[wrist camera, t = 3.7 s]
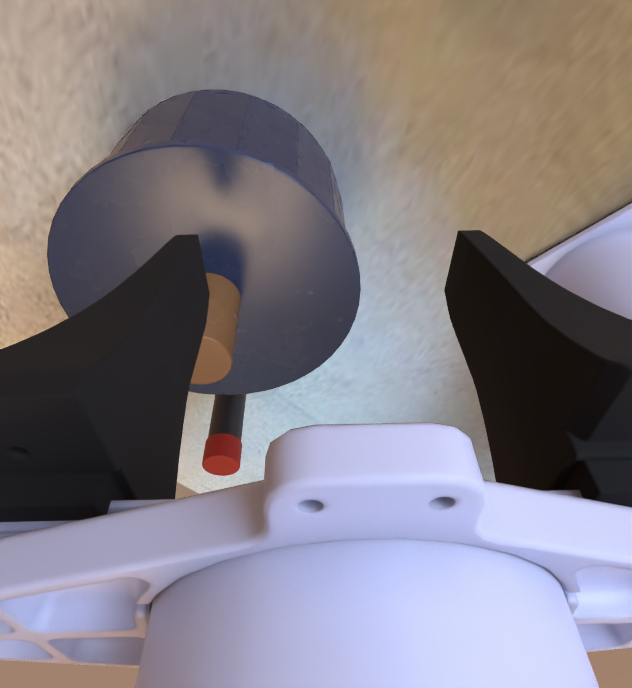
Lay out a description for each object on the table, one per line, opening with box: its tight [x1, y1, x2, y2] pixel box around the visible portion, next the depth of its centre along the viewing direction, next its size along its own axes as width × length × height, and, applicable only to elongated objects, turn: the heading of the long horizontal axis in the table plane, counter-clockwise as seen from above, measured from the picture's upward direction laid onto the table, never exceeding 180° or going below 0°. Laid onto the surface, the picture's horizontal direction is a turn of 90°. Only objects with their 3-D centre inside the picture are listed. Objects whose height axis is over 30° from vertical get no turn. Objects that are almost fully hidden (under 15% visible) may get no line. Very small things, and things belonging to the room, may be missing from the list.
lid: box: [47, 140, 361, 395], centre depth 17 cm, size 12×12×4 cm
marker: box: [202, 394, 246, 476], centre depth 28 cm, size 2×2×8 cm
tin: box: [109, 90, 345, 227], centre depth 21 cm, size 11×11×6 cm
